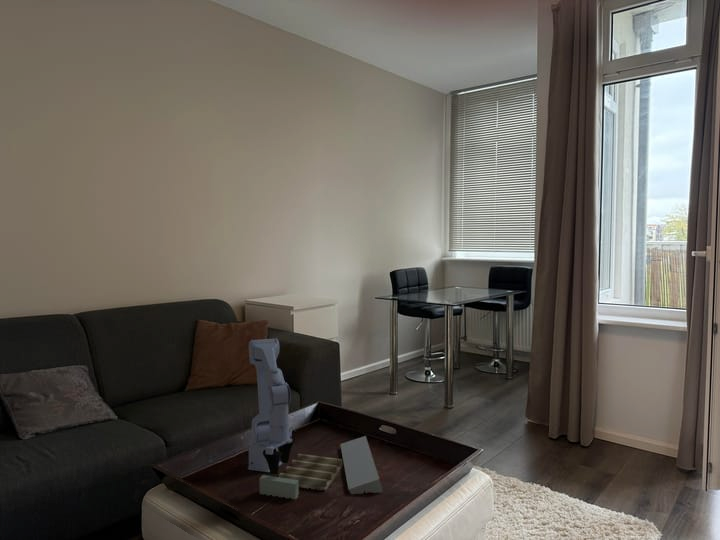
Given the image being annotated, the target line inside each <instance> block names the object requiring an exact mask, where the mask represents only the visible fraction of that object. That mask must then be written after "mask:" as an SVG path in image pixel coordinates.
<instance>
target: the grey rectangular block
mask: <svg viewBox="0 0 720 540" xmlns="http://www.w3.org/2000/svg"><path fill="white" fill-rule="evenodd" d="M340 451H341V454H342V455H341V456H342V463H343V467H344V472H345V477H346V478H345V479H346V483H347V490H348V491H349V493H350V495H355V494H356V495H362V494H364V493H365V494H368V493H373V494H377V493H378V494H380V493H381V494H383V487H382V483H381V480H380V477H379V473H378V471H377V467H376V465H375V461H374V458H373V454H372V451H371V448H370V445H369V443H368V438H367V436H366V435H364V436H361V437H357V438H354V439H352V440H348V441H346V442H343V443H340Z"/></svg>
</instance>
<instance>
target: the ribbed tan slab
mask: <svg viewBox="0 0 720 540" xmlns="http://www.w3.org/2000/svg"><path fill="white" fill-rule="evenodd" d="M343 467H344V463H343V458H335V457H326V456H319V455H314V454H304V453H298V454H297V459H292V460H291V466H288V465H287V466H286V467H285V473H284V472H279V473H278V477H279V478H286V479H293V480H299V488H304V489H309V488H311V490H315V489H317V491H322V490H325V491H324V492H326V491H327V490H328V488H329V487H330V486H331V484H332V483H333V481H334V480H335V478H336V477H337V476H338V474H339V473H340V471H341V470H342V469H341V468H343ZM329 485H330V486H329ZM326 489H327V490H326Z"/></svg>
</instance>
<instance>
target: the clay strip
mask: <svg viewBox="0 0 720 540" xmlns="http://www.w3.org/2000/svg"><path fill="white" fill-rule="evenodd" d="M299 488H300V487H299V480H293V479H286V478H279V476H271V475H266V474H265V475H264V474H263V475H261V477H260V478H259V494H260V495H264V494H265V495H264V496H270V495H272V496H271V497H276V496H278V497H277V498H283V497H285V498H284V499H289V498H291V499H290V500H297V498H299V496H298V495H300V493H299V491H300V489H299Z"/></svg>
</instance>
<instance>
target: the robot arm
mask: <svg viewBox="0 0 720 540" xmlns="http://www.w3.org/2000/svg"><path fill="white" fill-rule="evenodd" d="M280 350H281V349H280V342H279V339H278V338H277V337H274V338H264V339H251V340H250V341H249V342H248V357H249V358H248V360H249V363H250V364H251V365H253V366H255V370H256V380H257V381H256V383H257V398H258V399H257V400H258V412H259V413H258V414H257V415H256V416H254V417H253V418H252V419H251V431H250V432H251V441H250V444H249V447H248V466H247V470H249V471H257V472H263V473H270V474H272V475H278V474H279V467H280V466H281V465H282V464H283V463H284V464H288V463H289V460H290V455H291V452H292V448H293V446H294V443H295V441H296V439H295V438H294V437H293V438H292V436H293V434H292V433H293V432H292V429H289V428H290V427H289V404H290V403H291V400H292V399H291V397H292V396H291V388H290V384H288V382H286V381H285V379H284V375H283V374H284V373H283V371H282V370H281V368H279V367H278V365H277V359H278V357H279V355H280Z"/></svg>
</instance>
